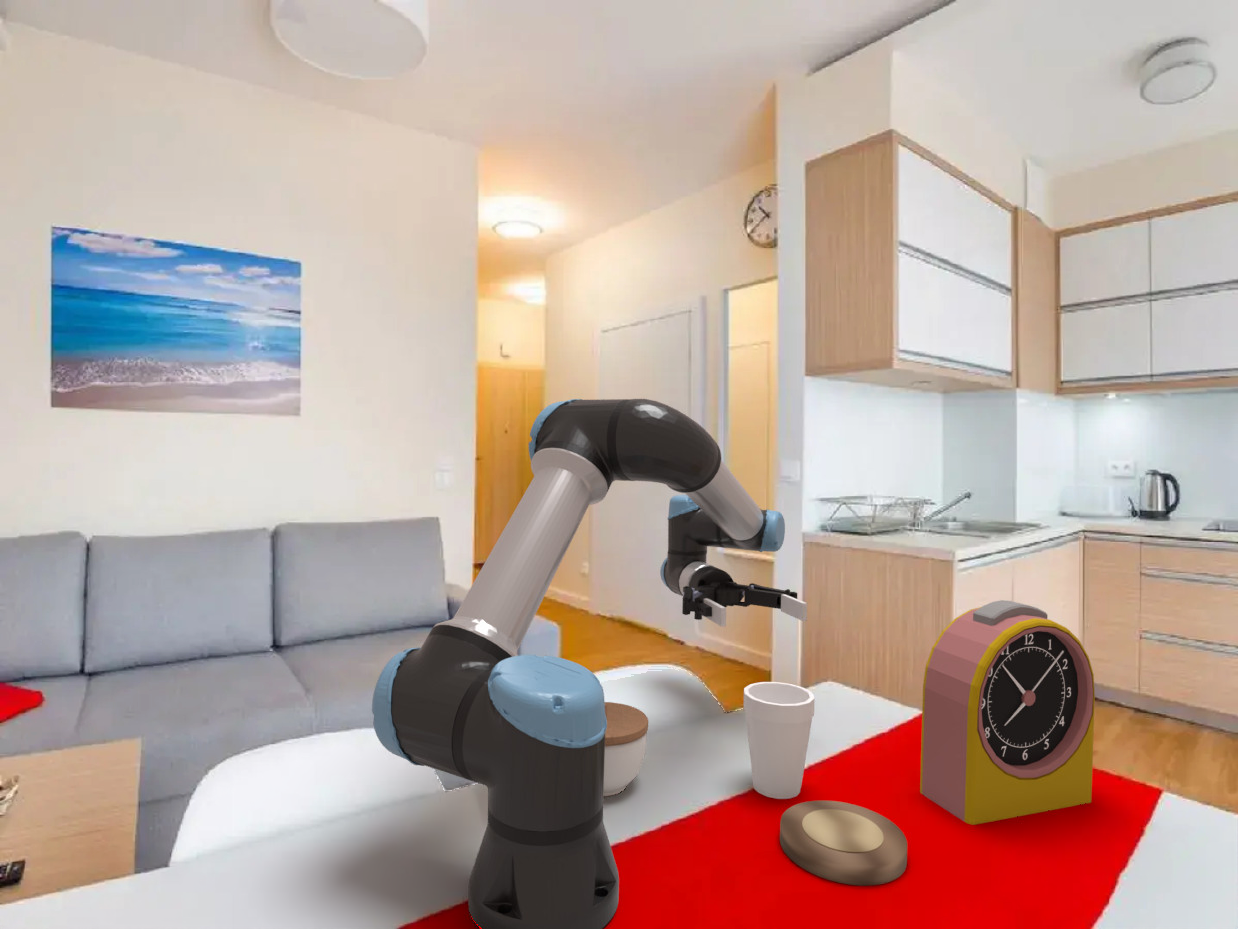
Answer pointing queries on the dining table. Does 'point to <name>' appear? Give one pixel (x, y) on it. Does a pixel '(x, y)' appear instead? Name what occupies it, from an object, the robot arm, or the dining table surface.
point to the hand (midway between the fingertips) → (765, 614)
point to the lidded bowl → (623, 746)
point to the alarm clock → (1007, 715)
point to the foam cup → (778, 736)
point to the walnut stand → (843, 842)
